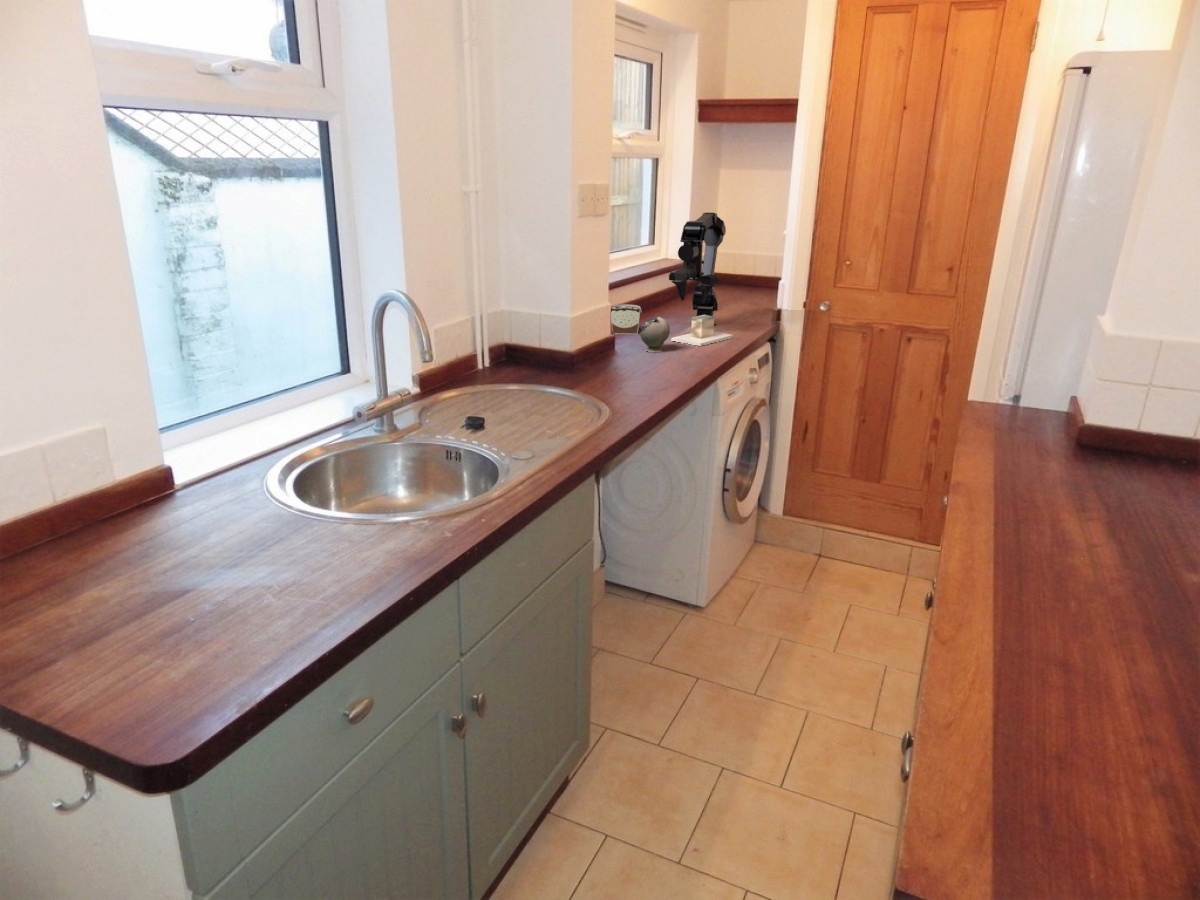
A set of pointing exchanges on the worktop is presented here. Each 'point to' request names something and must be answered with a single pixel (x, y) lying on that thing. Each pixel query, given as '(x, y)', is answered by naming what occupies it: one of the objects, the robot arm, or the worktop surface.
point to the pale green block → (702, 326)
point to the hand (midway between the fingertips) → (692, 301)
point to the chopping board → (704, 341)
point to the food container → (625, 319)
